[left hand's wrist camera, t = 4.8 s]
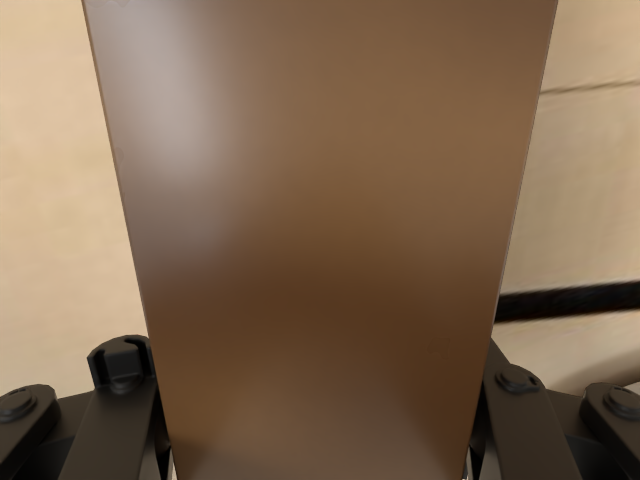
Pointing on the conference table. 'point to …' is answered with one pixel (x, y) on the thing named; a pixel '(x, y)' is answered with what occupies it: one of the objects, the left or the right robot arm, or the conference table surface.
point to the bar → (319, 219)
